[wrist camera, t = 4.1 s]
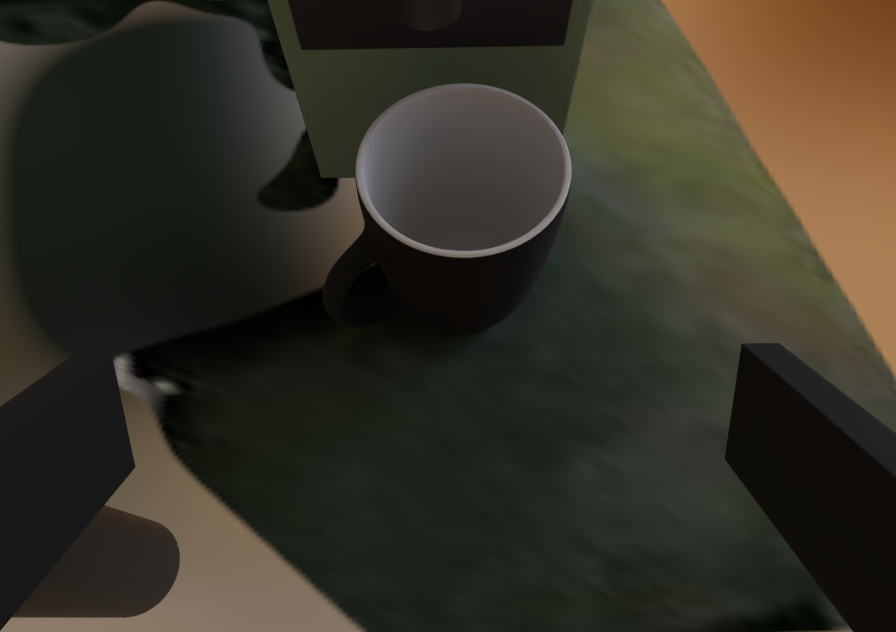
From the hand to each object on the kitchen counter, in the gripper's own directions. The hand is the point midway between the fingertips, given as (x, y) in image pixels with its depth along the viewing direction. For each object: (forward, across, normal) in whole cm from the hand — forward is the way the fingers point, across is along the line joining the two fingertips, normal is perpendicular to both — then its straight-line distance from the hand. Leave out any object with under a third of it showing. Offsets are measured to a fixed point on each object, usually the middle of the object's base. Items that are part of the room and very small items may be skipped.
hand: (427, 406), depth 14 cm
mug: (+21, 0, -4) cm, 22 cm away
